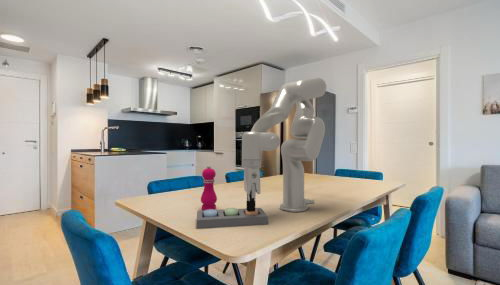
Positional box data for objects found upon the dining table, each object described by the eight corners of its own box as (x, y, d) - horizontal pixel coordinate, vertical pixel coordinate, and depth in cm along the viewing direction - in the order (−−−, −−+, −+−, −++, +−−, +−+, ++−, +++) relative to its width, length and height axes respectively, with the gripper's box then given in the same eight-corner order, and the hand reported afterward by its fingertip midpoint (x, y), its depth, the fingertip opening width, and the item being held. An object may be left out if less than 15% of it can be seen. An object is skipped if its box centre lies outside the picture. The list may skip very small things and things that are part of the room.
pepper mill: (213, 211, 112) (213, 165, 112) (198, 210, 113) (198, 165, 113) (219, 207, 119) (219, 164, 119) (204, 206, 120) (204, 163, 120)
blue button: (216, 216, 100) (216, 208, 100) (217, 220, 95) (217, 212, 95) (203, 217, 99) (203, 209, 99) (203, 221, 94) (203, 213, 94)
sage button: (236, 215, 102) (236, 207, 102) (238, 218, 97) (238, 211, 97) (224, 215, 101) (224, 208, 101) (225, 219, 96) (225, 211, 96)
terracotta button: (256, 216, 103) (256, 208, 103) (259, 219, 98) (259, 212, 98) (244, 216, 102) (244, 209, 102) (246, 220, 97) (246, 212, 97)
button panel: (260, 214, 107) (260, 207, 107) (268, 224, 95) (268, 216, 95) (197, 218, 102) (197, 210, 102) (196, 228, 91) (196, 220, 91)
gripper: (265, 165, 93) (264, 216, 93) (256, 162, 108) (256, 205, 108) (245, 165, 92) (244, 217, 92) (239, 162, 107) (238, 206, 107)
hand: (250, 210), depth 100 cm, fingers closed
